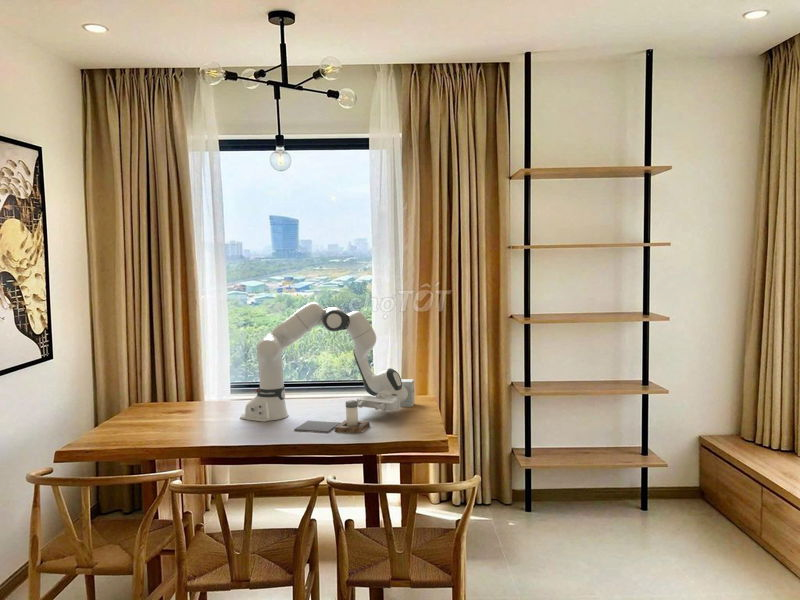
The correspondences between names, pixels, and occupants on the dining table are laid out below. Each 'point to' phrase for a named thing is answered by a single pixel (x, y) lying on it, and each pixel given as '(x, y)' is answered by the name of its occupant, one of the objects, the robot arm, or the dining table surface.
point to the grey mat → (317, 426)
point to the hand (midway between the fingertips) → (367, 406)
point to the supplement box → (410, 389)
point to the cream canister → (352, 413)
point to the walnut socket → (344, 428)
